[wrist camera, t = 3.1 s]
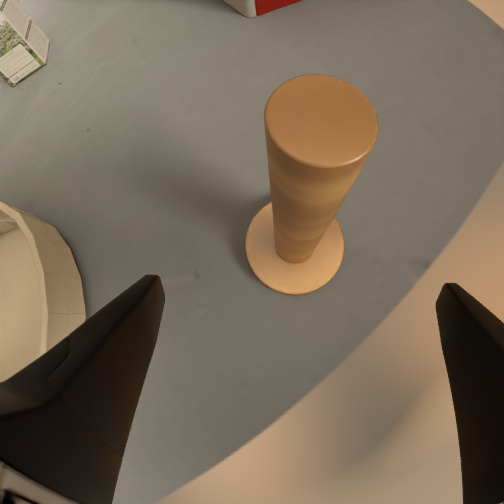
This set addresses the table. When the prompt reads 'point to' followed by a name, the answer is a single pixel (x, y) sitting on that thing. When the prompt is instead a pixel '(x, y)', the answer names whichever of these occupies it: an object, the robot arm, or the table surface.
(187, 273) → the table surface
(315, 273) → the tan wooden tall post
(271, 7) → the red white rounded box
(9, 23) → the syrup box
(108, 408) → the robot arm
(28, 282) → the bowl
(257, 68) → the table surface
